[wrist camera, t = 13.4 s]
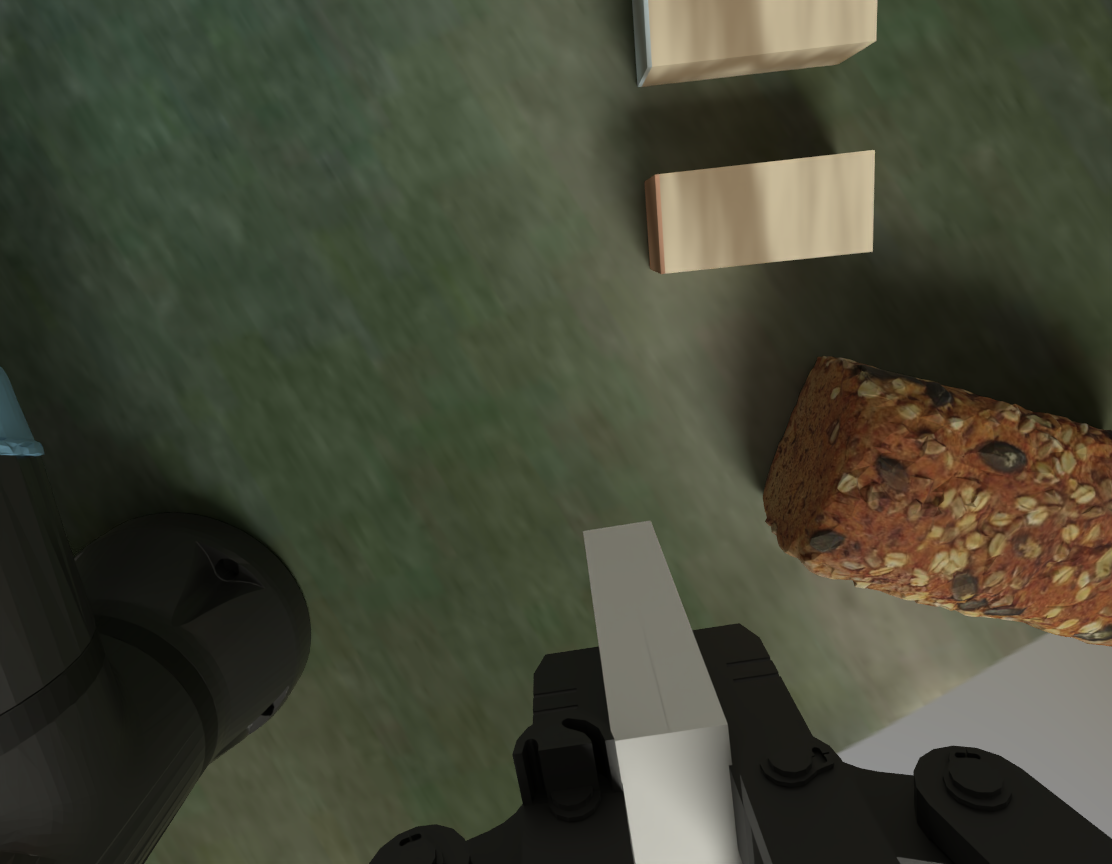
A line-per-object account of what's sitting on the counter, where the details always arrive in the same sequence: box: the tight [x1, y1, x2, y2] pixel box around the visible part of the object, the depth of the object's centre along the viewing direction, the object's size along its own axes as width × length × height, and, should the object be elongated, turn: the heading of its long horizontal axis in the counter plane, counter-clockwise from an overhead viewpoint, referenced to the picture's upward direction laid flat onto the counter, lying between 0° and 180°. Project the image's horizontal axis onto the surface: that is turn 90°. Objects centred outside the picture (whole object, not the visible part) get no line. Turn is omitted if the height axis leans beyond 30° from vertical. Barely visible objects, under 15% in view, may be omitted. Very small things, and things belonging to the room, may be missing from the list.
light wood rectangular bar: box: [632, 0, 877, 87], centre depth 32 cm, size 4×4×10 cm
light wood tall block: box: [644, 150, 875, 274], centre depth 35 cm, size 4×4×10 cm
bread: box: [763, 356, 1112, 646], centre depth 36 cm, size 19×11×10 cm, turn 74°
